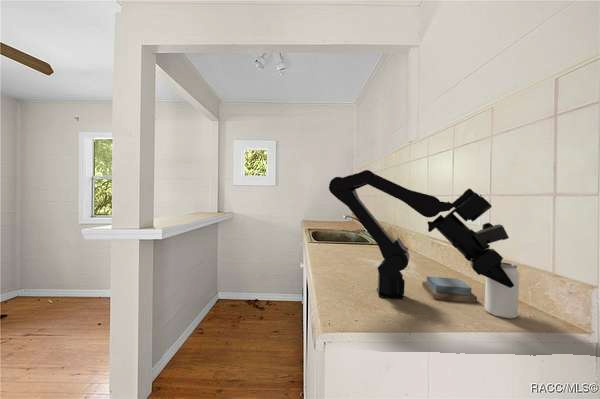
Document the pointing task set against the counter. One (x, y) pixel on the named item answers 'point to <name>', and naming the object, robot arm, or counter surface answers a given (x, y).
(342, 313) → the counter surface
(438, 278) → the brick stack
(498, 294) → the can
